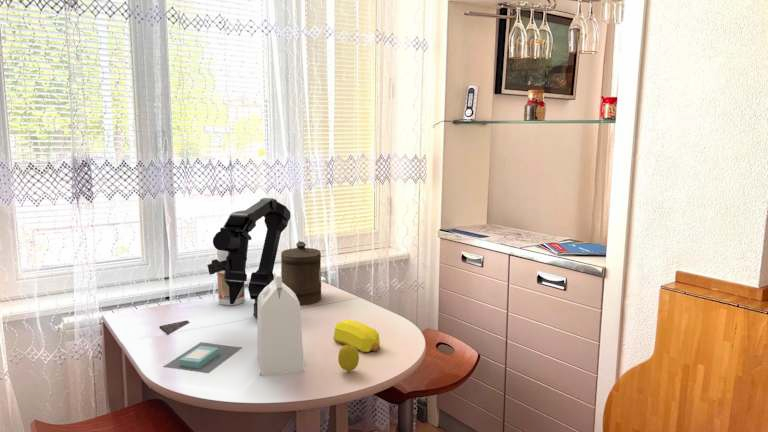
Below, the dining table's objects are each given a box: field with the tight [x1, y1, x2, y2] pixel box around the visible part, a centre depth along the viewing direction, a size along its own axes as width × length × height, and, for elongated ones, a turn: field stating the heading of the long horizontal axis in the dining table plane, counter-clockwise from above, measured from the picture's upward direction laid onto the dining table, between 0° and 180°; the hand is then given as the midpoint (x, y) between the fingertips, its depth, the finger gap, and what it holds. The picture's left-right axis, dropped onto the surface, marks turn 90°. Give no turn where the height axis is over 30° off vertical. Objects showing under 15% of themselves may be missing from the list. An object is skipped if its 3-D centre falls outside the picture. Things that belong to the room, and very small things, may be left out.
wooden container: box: [280, 241, 322, 306], centre depth 217 cm, size 15×15×22 cm
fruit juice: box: [216, 249, 246, 307], centre depth 212 cm, size 9×9×28 cm
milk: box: [256, 270, 305, 377], centre depth 159 cm, size 12×12×26 cm
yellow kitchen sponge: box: [333, 319, 381, 353], centre depth 175 cm, size 18×7×8 cm
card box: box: [179, 346, 219, 368], centre depth 162 cm, size 2×6×10 cm
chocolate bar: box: [159, 320, 191, 336], centre depth 184 cm, size 9×1×18 cm
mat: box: [162, 342, 243, 374], centre depth 165 cm, size 18×14×1 cm
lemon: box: [337, 344, 360, 373], centre depth 156 cm, size 6×6×8 cm
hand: (231, 304), depth 178 cm, fingers closed
